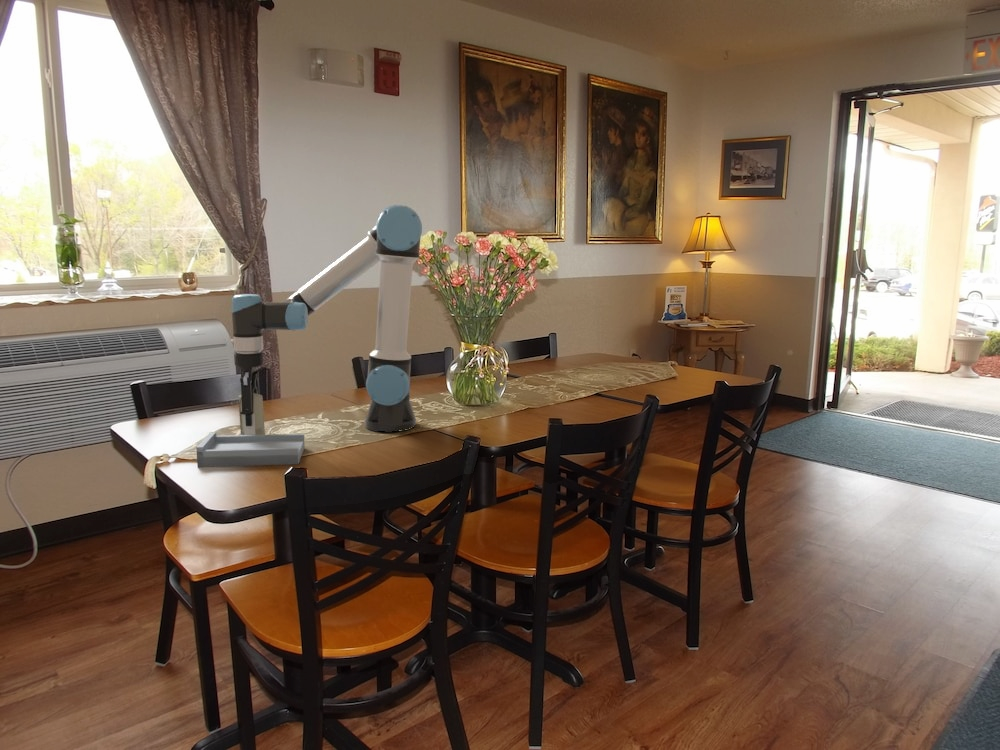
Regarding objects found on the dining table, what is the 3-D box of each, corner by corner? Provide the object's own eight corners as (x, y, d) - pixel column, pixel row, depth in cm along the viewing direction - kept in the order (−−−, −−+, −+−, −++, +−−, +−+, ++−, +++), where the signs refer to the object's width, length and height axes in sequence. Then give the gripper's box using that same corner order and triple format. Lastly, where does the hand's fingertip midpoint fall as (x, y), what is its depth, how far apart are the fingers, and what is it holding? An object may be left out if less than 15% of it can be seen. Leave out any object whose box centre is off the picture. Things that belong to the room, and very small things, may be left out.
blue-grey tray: (304, 448, 193) (304, 430, 192) (298, 464, 179) (297, 444, 178) (211, 450, 189) (210, 432, 188) (197, 467, 175) (196, 447, 174)
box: (256, 436, 202) (254, 392, 200) (265, 439, 200) (263, 394, 197) (239, 440, 198) (237, 395, 196) (248, 443, 196) (246, 397, 193)
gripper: (241, 346, 203) (245, 424, 207) (226, 357, 184) (231, 443, 189) (268, 346, 204) (271, 424, 209) (256, 357, 186) (260, 442, 190)
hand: (252, 433), depth 199 cm, fingers closed on box, 6 cm apart
